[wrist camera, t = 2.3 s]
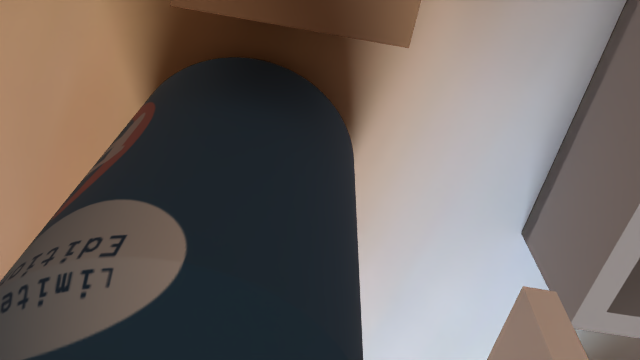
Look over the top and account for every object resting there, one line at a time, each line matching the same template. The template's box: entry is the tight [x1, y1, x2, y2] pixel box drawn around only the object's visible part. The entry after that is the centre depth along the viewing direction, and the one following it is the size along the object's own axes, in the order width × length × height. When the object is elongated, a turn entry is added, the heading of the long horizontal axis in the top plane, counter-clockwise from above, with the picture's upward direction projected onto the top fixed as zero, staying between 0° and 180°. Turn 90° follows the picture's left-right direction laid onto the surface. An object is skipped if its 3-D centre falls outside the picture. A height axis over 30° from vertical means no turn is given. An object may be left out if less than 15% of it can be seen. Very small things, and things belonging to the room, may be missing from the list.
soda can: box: [0, 57, 363, 360], centre depth 13 cm, size 7×7×12 cm
